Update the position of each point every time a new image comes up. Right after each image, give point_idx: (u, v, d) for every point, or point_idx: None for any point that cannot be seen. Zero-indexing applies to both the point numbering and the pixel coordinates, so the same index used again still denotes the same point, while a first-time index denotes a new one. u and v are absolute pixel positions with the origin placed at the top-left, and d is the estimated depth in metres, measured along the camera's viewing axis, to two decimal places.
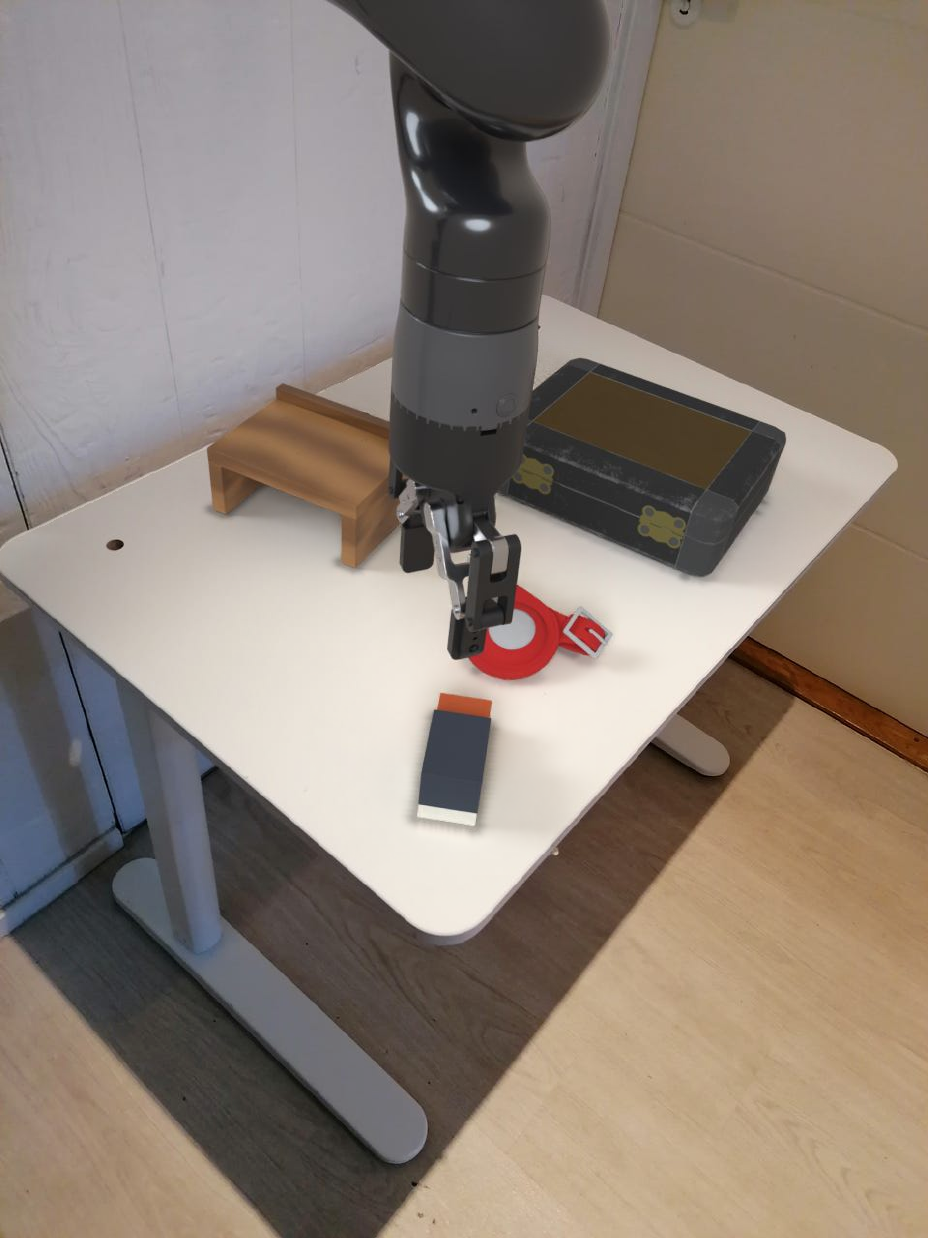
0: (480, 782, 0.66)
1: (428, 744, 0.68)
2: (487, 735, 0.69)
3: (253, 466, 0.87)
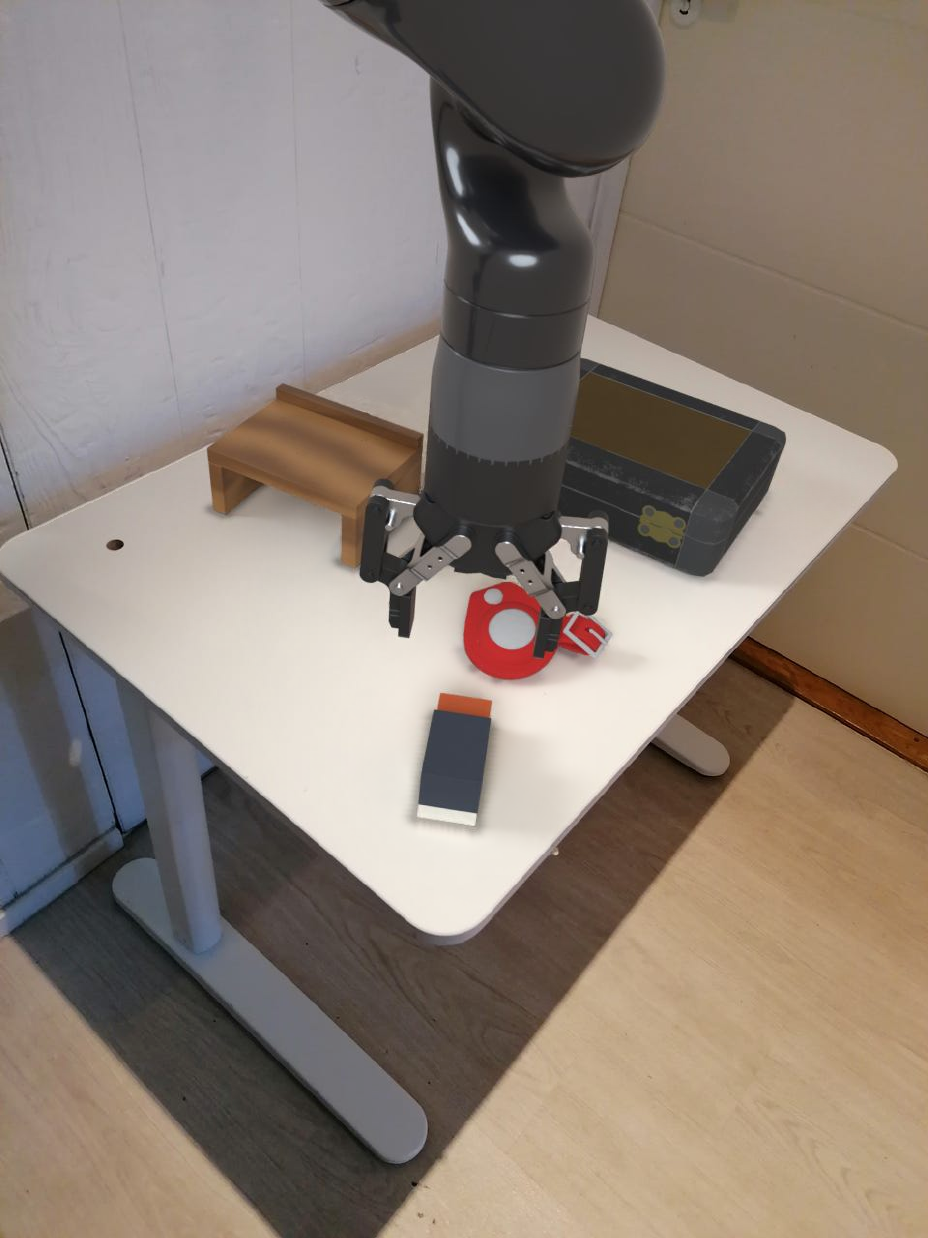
0: (480, 782, 0.66)
1: (428, 744, 0.68)
2: (487, 735, 0.69)
3: (253, 466, 0.87)
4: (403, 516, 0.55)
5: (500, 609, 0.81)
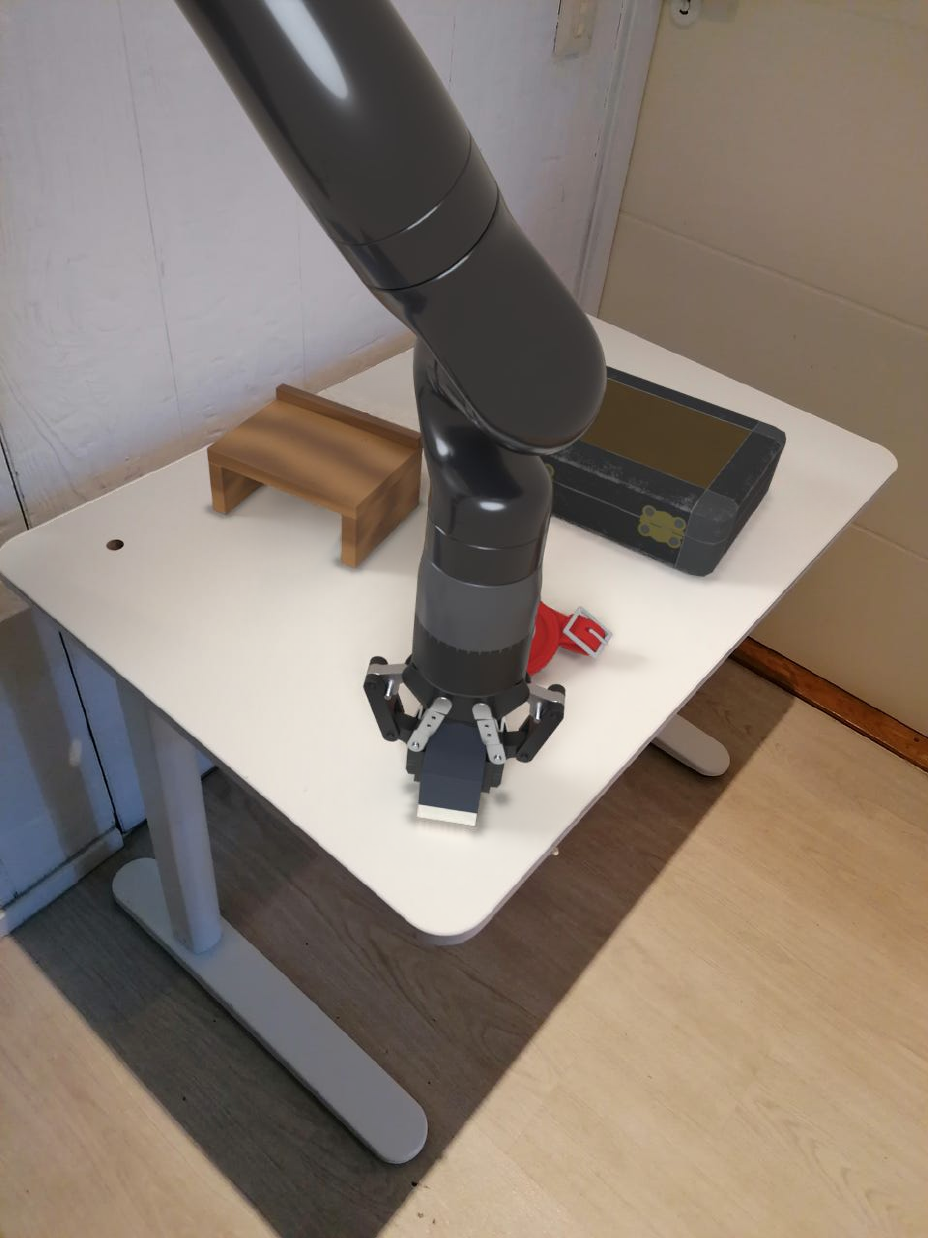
0: (480, 782, 0.66)
1: (428, 744, 0.68)
2: None
3: (253, 466, 0.87)
4: (397, 684, 0.65)
5: None
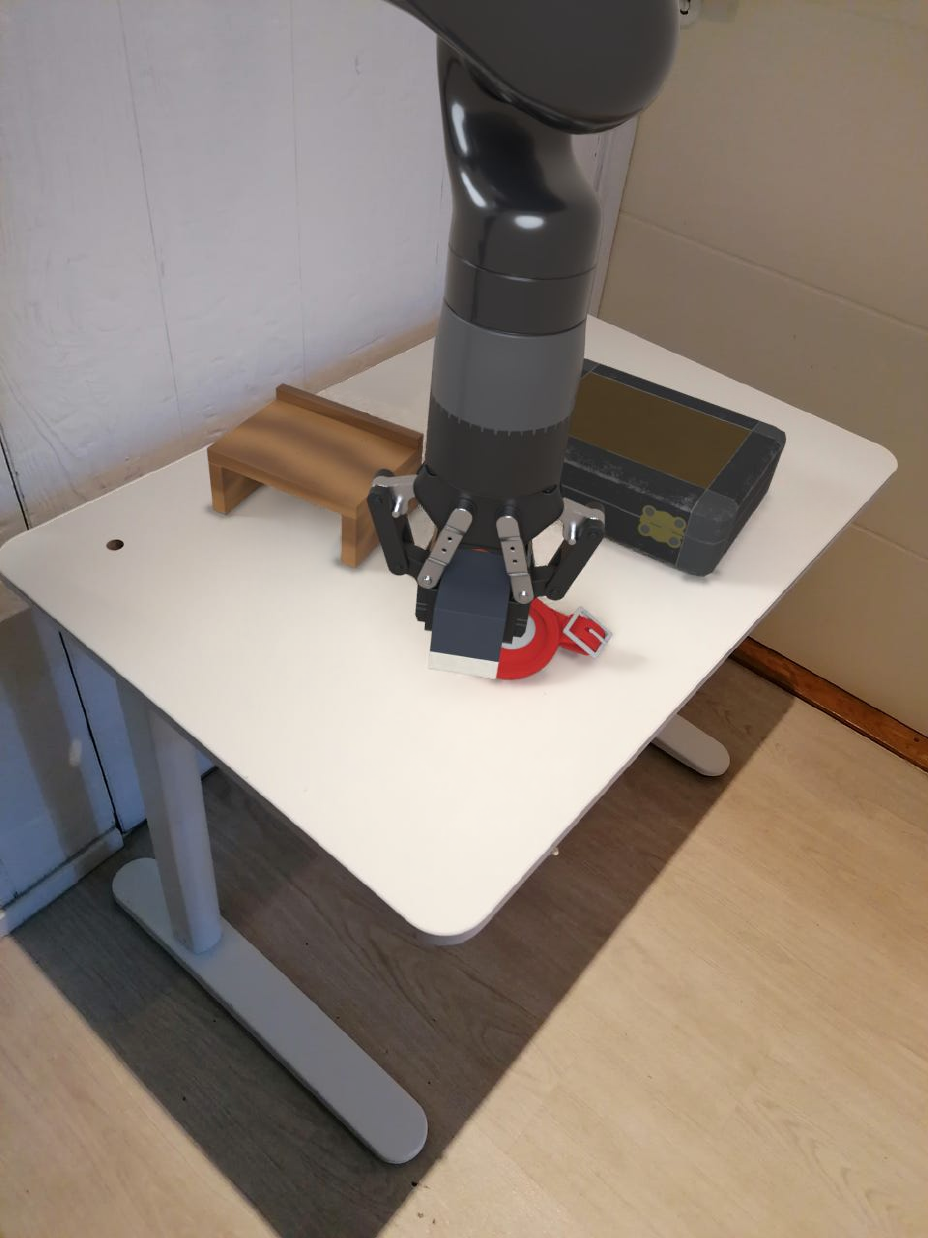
0: (504, 619, 0.56)
1: (442, 580, 0.58)
2: None
3: (253, 466, 0.87)
4: (407, 499, 0.55)
5: None
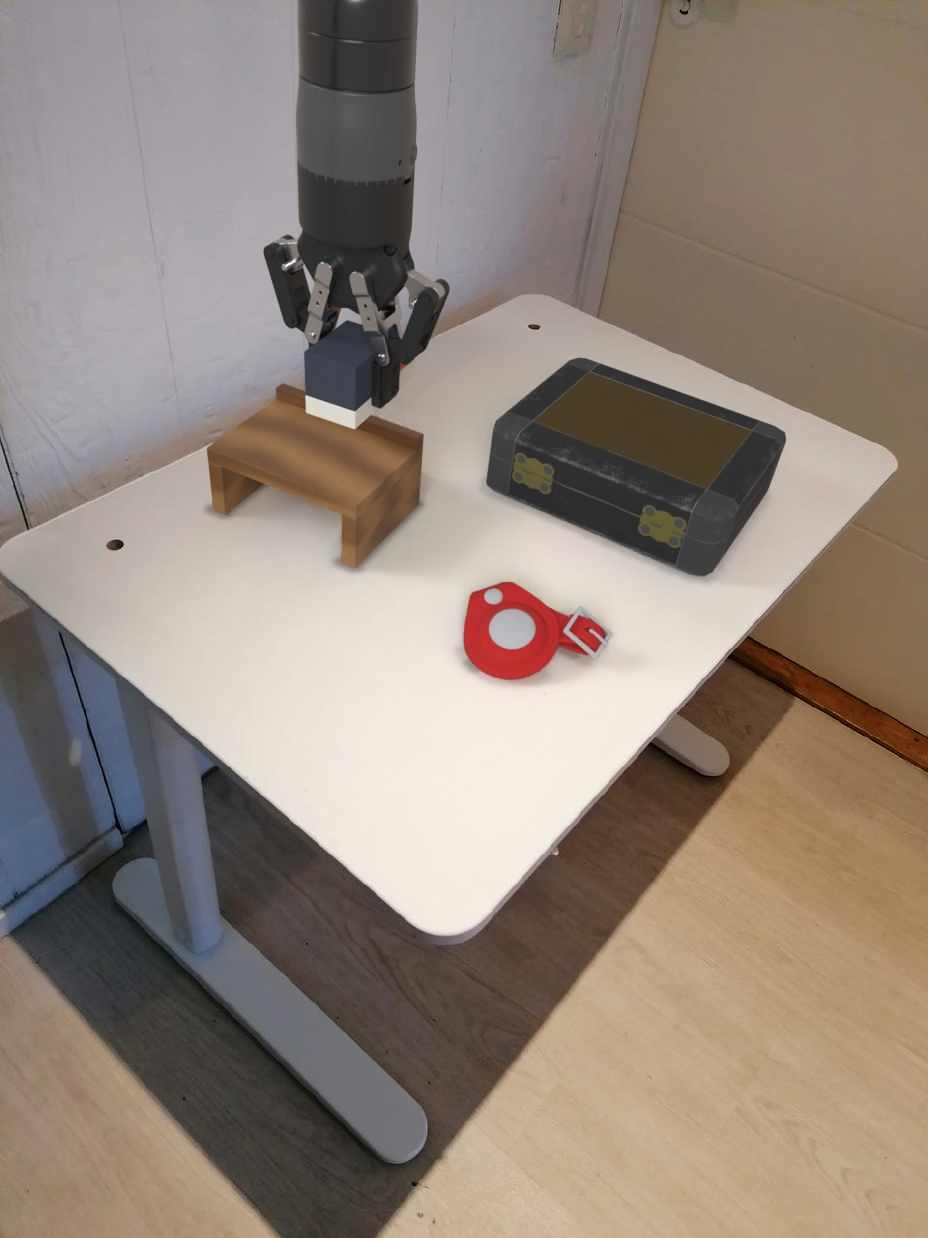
0: (354, 367, 0.68)
1: (324, 337, 0.70)
2: None
3: (253, 466, 0.87)
4: (295, 257, 0.68)
5: (500, 609, 0.81)
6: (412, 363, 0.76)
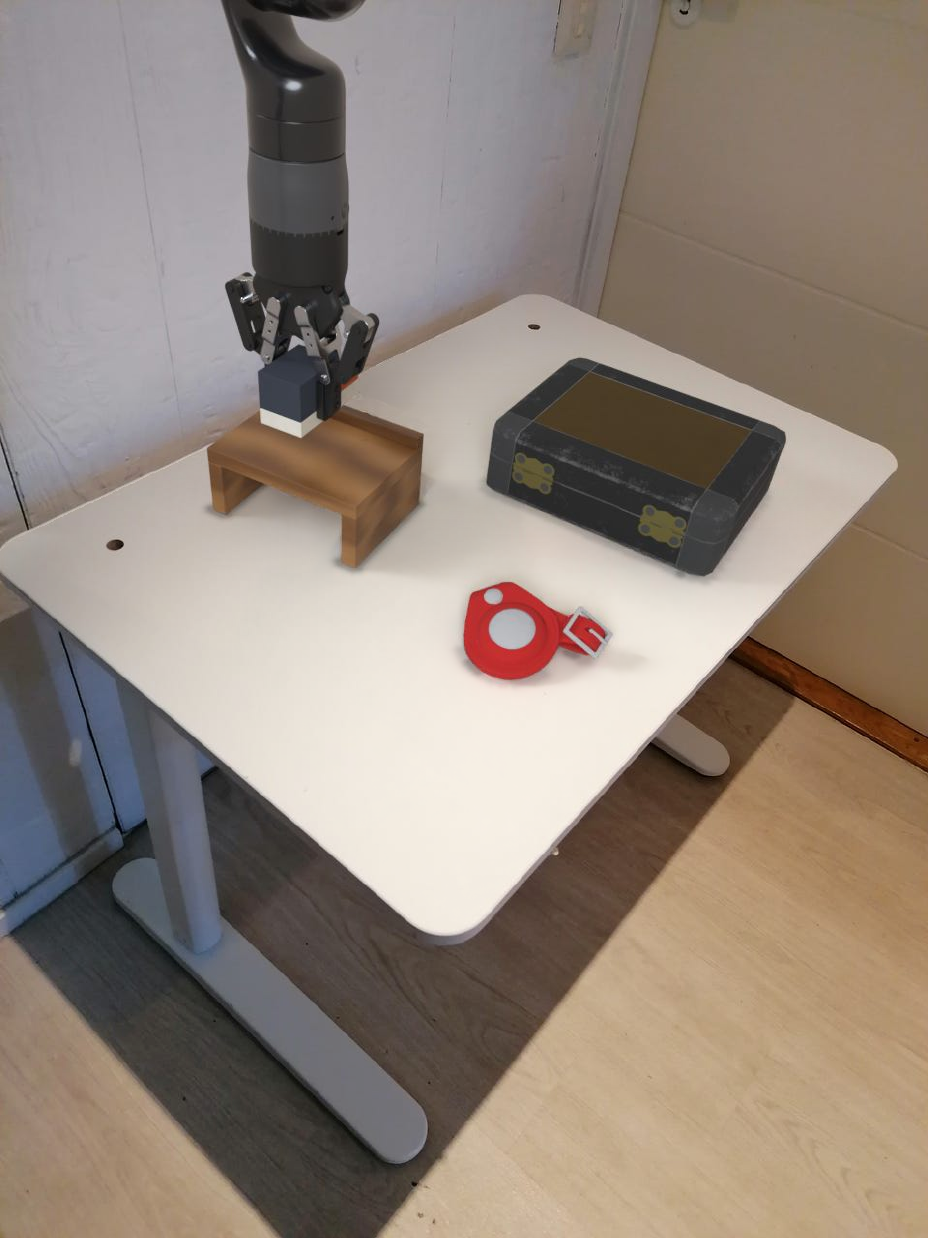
0: (298, 385, 0.80)
1: (276, 359, 0.82)
2: None
3: (253, 466, 0.87)
4: (252, 291, 0.80)
5: (500, 609, 0.81)
6: (357, 382, 0.88)
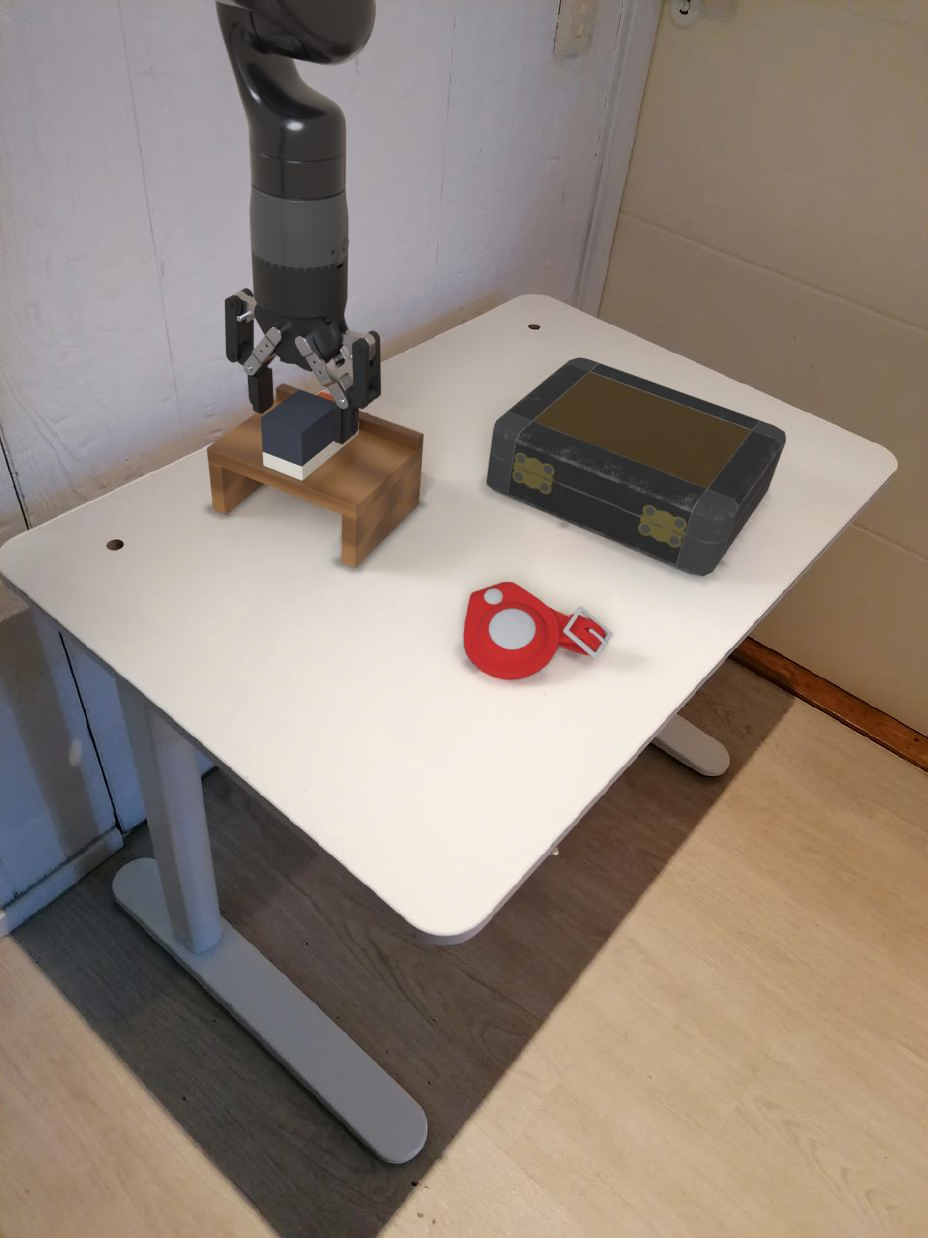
0: (300, 431, 0.83)
1: (278, 405, 0.85)
2: (327, 410, 0.85)
3: (253, 466, 0.87)
4: (250, 313, 0.81)
5: (500, 609, 0.81)
6: None
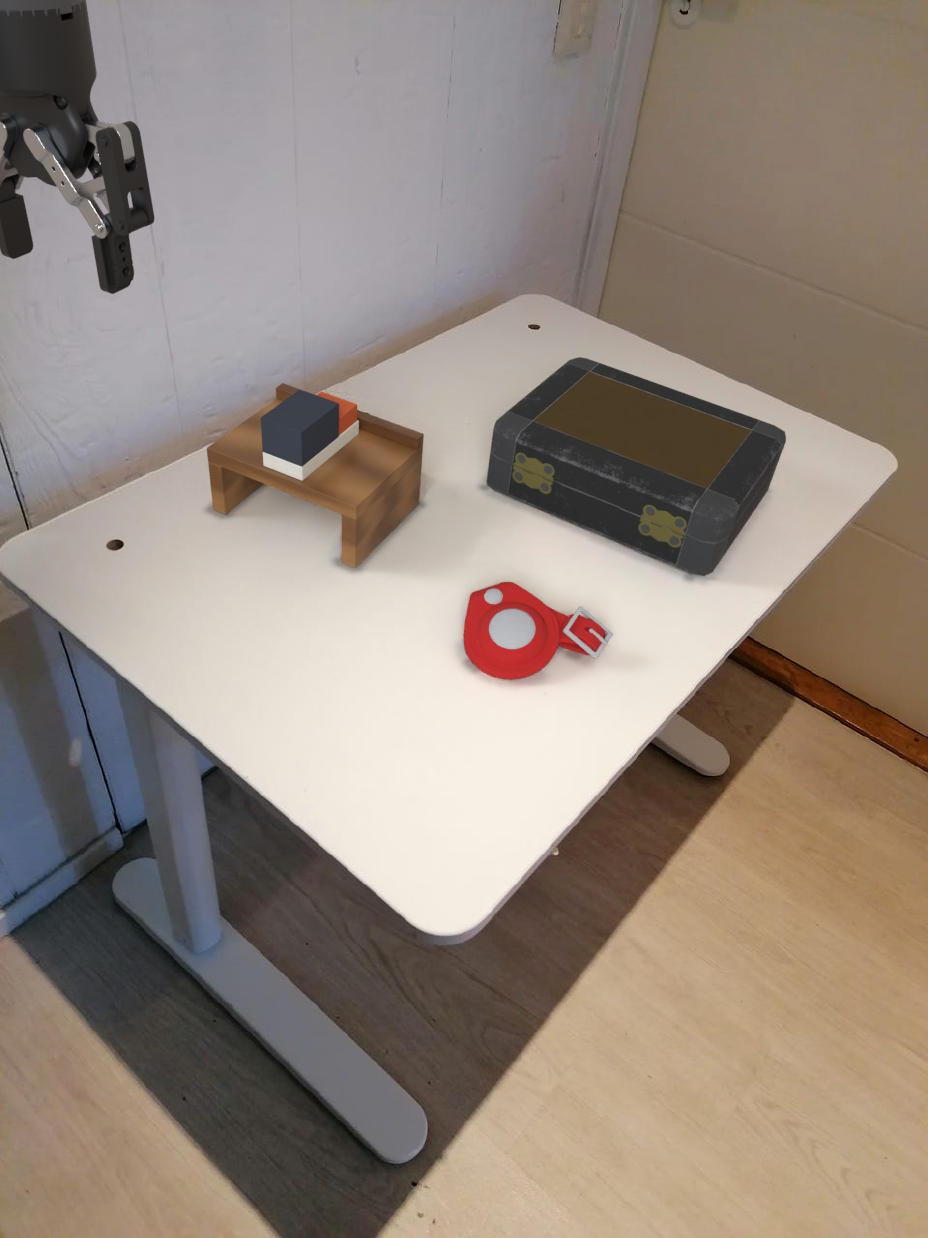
0: (300, 431, 0.83)
1: (278, 405, 0.85)
2: (327, 410, 0.85)
3: (253, 466, 0.87)
4: None
5: (500, 609, 0.81)
6: (356, 424, 0.91)
